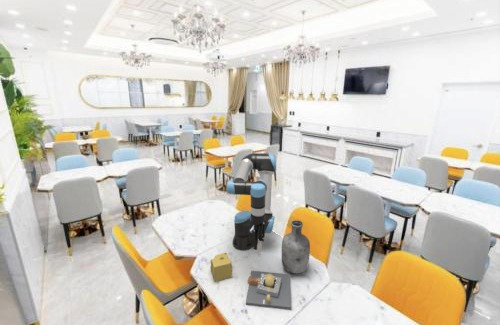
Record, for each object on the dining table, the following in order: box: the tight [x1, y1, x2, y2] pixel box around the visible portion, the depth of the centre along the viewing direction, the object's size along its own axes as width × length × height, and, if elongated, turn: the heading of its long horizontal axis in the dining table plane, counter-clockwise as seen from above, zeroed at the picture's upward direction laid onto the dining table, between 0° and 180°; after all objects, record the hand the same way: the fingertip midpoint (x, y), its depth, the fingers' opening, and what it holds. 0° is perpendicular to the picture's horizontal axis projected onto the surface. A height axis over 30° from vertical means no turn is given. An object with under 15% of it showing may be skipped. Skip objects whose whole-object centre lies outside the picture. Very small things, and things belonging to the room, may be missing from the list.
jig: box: [245, 270, 292, 311], centre depth 122 cm, size 22×22×8 cm
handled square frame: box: [247, 273, 282, 298], centre depth 123 cm, size 17×11×2 cm, turn 72°
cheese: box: [210, 252, 233, 282], centre depth 133 cm, size 10×11×10 cm
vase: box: [281, 219, 311, 274], centre depth 134 cm, size 16×16×30 cm
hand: (257, 252), depth 127 cm, fingers open, 2 cm apart
